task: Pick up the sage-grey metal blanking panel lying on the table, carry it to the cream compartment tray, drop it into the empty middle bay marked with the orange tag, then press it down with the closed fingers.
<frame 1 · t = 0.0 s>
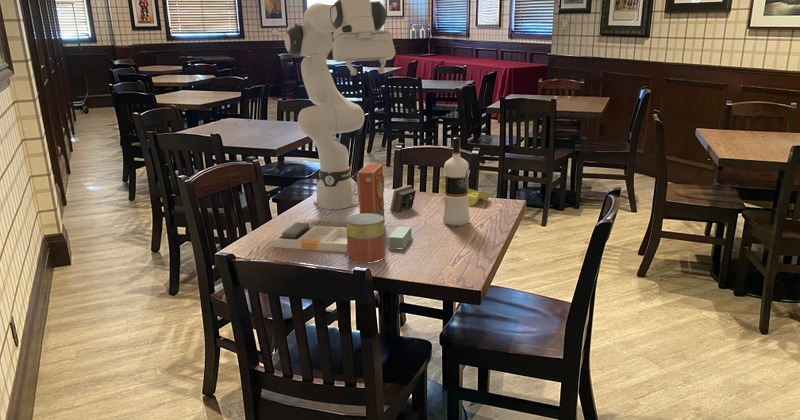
hand: (368, 73, 190), 52 cm above the table, tool tilted 20°, fingers open, 8 cm apart
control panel: (372, 229, 206), on the table
vodka: (456, 223, 211), on the table
electrical switch: (403, 210, 227), on the table
dark grey long block: (296, 239, 196), resting on cream compartment tray
canned food: (366, 257, 181), on the table
blanking panel: (400, 243, 192), on the table
cream compartment tray: (319, 242, 194), on the table
plastic component: (463, 200, 239), on the table
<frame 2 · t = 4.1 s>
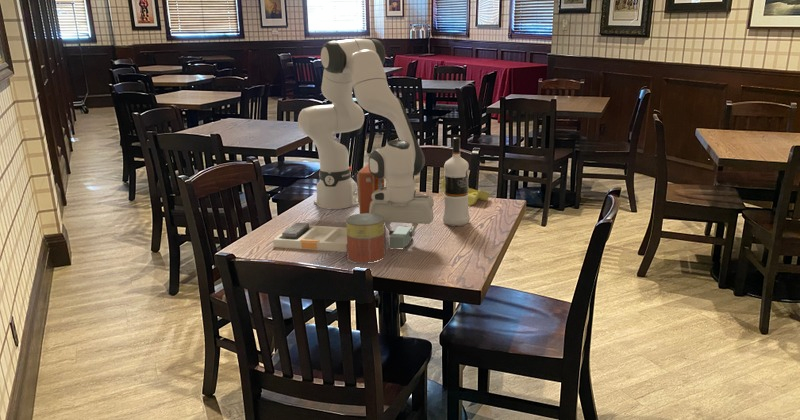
hand: (401, 235, 191), 3 cm above the table, tool pointing down, fingers open, 5 cm apart
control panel: (372, 229, 206), on the table, touching arm
blanking panel: (401, 243, 192), on the table, touching gripper
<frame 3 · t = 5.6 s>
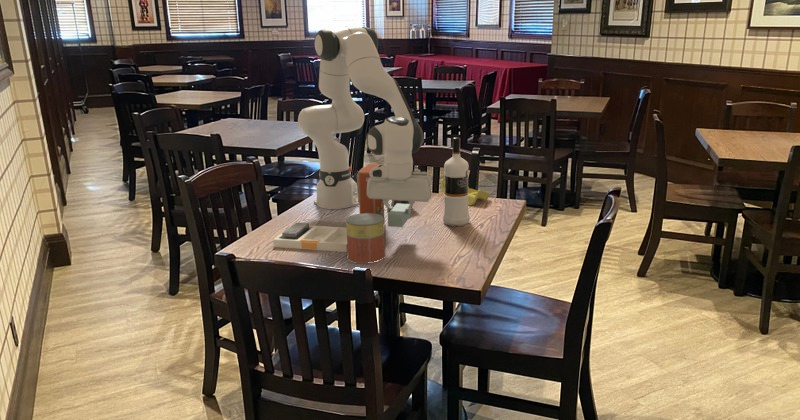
hand: (399, 213, 189), 10 cm above the table, tool pointing down, fingers closed on blanking panel, 4 cm apart
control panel: (372, 229, 206), on the table
blanking panel: (399, 220, 190), point 7 cm above the table, touching gripper
everything else where it was.
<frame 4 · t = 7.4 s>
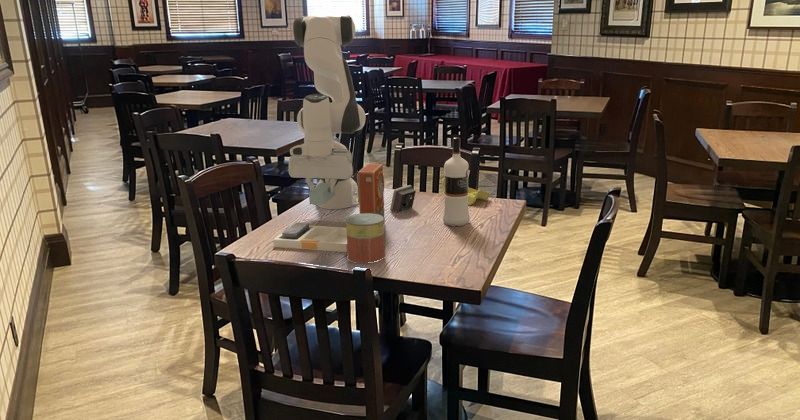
hand: (322, 191, 189), 17 cm above the table, tool pointing down, fingers closed on blanking panel, 4 cm apart
blanking panel: (322, 199, 190), point 14 cm above the table, touching gripper
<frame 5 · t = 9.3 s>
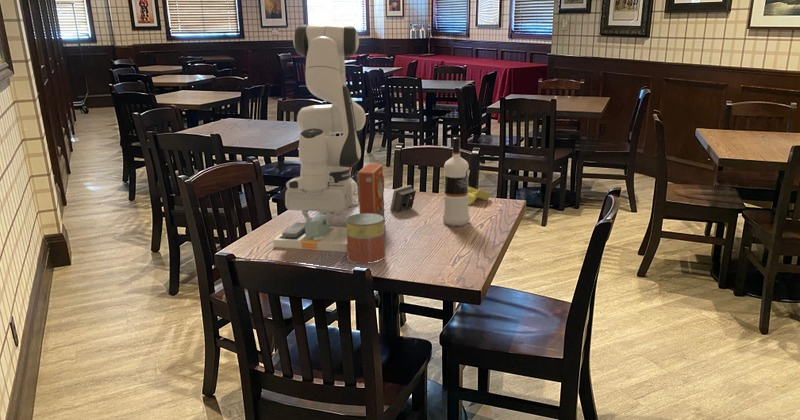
hand: (318, 223, 192), 6 cm above the table, tool pointing down, fingers closed on blanking panel, 4 cm apart
blanking panel: (318, 231, 193), point 4 cm above the table, touching gripper
when the fingers open (5 cm above the table, at t = 9.9 s): blanking panel drops 2 cm, resting on cream compartment tray.
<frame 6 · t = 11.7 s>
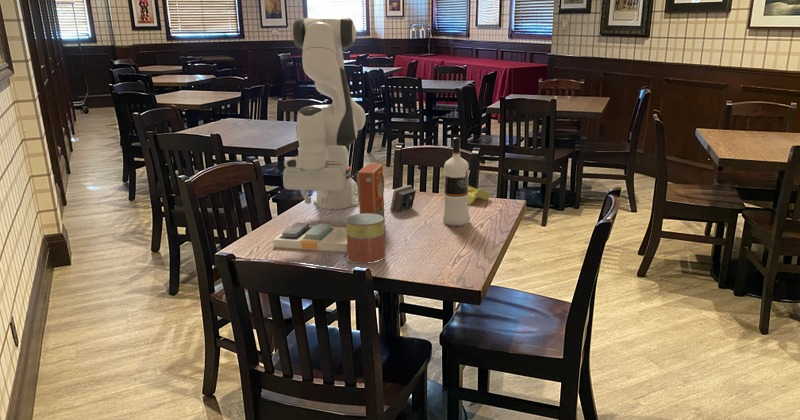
hand: (316, 203, 190), 13 cm above the table, tool pointing down, fingers open, 4 cm apart
blanking panel: (319, 240, 194), resting on cream compartment tray
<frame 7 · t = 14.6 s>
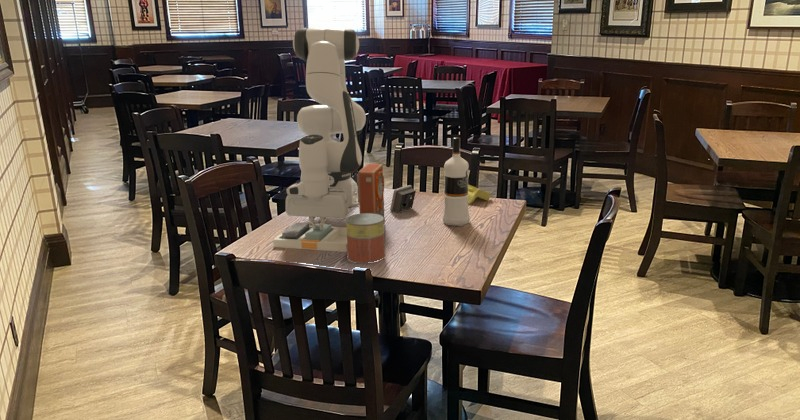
hand: (318, 229, 192), 4 cm above the table, tool pointing down, fingers closed, pressing on blanking panel
blanking panel: (319, 240, 194), resting on cream compartment tray, touching gripper
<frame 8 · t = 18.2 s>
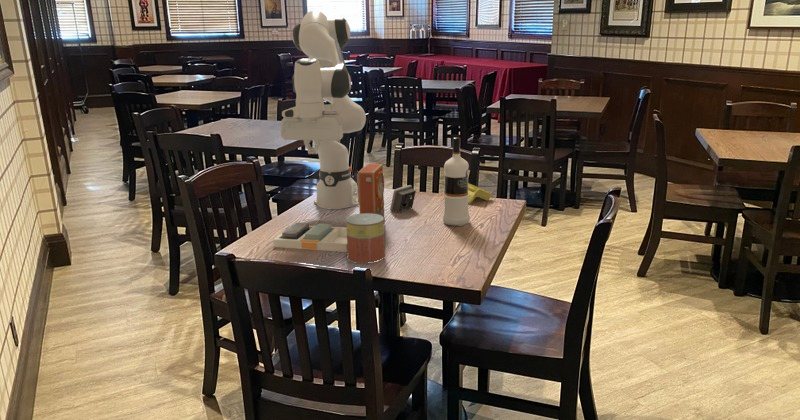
hand: (313, 153, 196), 27 cm above the table, tool pointing down, fingers closed
blanking panel: (319, 240, 194), resting on cream compartment tray
at the end: blanking panel 0.3 cm off-centre on the cream compartment tray, point 0.5 cm above the cream compartment tray's base; blanking panel tilted 0°; the gripper is holding nothing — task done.
